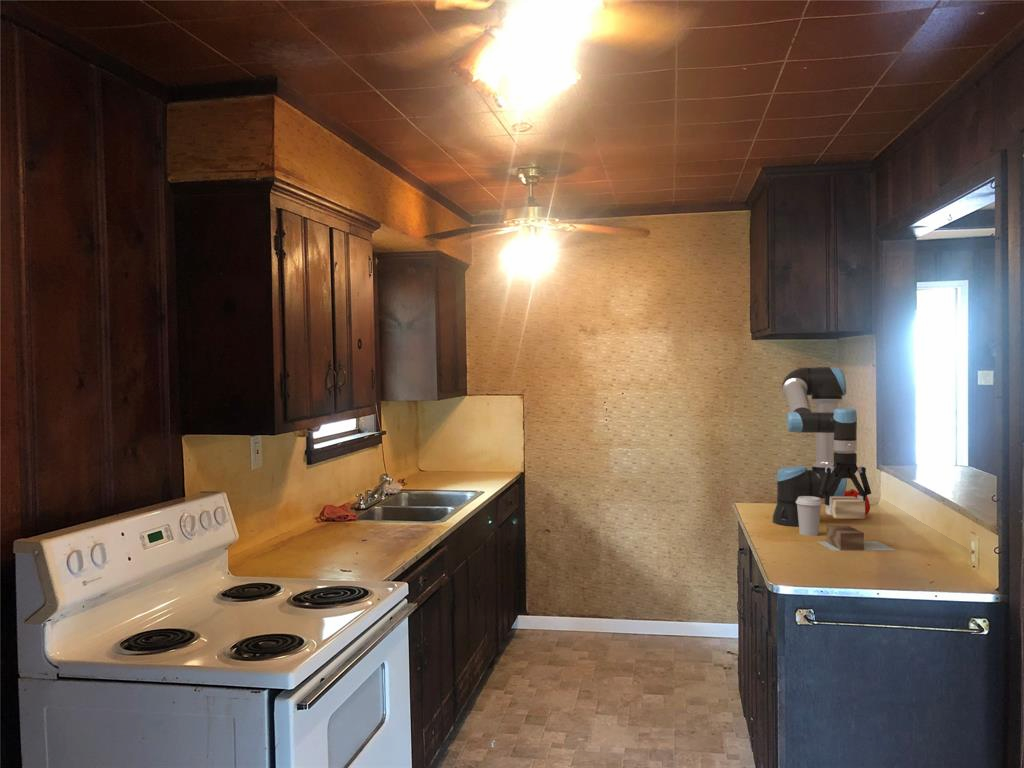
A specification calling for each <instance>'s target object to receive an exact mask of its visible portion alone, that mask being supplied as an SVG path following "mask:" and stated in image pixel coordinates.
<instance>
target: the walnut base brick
mask: <svg viewBox="0 0 1024 768" xmlns="http://www.w3.org/2000/svg"><path fill="white" fill-rule="evenodd" d="M864 541H865V533H864V532H862V531H861V530H859V529H857V528H854V527H853V526H850V525H827V526H826V542H827V543H829V544H831V545H832V546H834V547H836V548H838V549H839V551H865V550H864Z"/></svg>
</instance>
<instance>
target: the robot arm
mask: <svg viewBox="0 0 1024 768" xmlns="http://www.w3.org/2000/svg"><path fill="white" fill-rule="evenodd" d="M781 389H782V393H783V395H784V396H785V397H786V400H787V404H788V408H789V409H788V410H789V412H788V413H787V416H786V429H787V431H788V432H790V433H796V434H800V433H801V434H802V433H809V434H810V433H815V462H814V463H813V464H812V465H811V469H808V467H807V466H806V465H791V466H785V467H782V468H780V469H778V470H777V473H776V474H777V475H776V476H777V477H776V492H777V493H776V506H775V508H774V511H773V514H772V522H773V523H774V524H775V525H783V526H790V527H799V521H798V510H797V503H796V500H797V499H798V497H800V496H813V497H818V498H820V500H821V499H822V500H823V499H824V505H825V506H826V505H827V513H826V514H827V515H828V514H829V516H830V515H832V497H843V496H844V494H845V491H847V483H848V479H850V480H851V481H852V484H853V486H854V487H855V489H856V491H857V492H859V494H860V495H858V499H861V500H863V501H865V504H866V496H867V497H868V495H871V494H872V491H871V487H870V484H869V481H868V480H869V479H868V477H867V474H866V472H867V468H866V467H864V466H858V465H857V463H858V462H857V459H858V455H857V453H856V452H857V450H858V445H857V442H858V441H857V434H858V433H857V430H858V426H857V425H858V423H857V422H858V416H857V415H858V414H857V410H856V409H855V408H850V407H849V408H839V404H840V403H841V402H842V400H843V397H844V396H846V395H847V381H846V377H845V374H844V371H843V369H842V368H840V367H834V366H827V367H826V366H825V367H821V366H820V367H817V366H816V367H815V366H814V367H808V366H807V367H803V366H802V367H799V368H796V369H794V370H792V371H791V372H789V373H788V374H787V375H786V376H785V377H784V379H783V380H782V384H781ZM808 396H811V401H812V402H813V403H814V404H815V412H813V411H812V408H811V404H810V401H809V398H808ZM856 473H858V474H859V477H860V480H861V483H860V481H859V479H858V477H857V475H856Z"/></svg>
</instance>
